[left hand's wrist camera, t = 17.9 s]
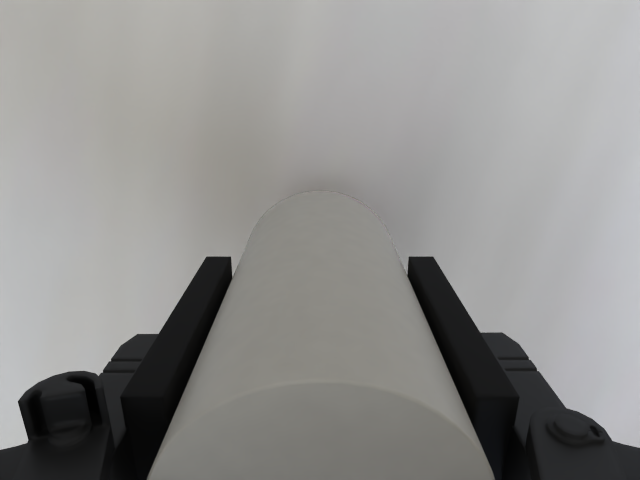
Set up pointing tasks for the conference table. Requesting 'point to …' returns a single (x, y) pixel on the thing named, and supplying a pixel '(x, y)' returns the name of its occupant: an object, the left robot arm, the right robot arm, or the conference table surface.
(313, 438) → the cylinder
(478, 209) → the conference table surface
